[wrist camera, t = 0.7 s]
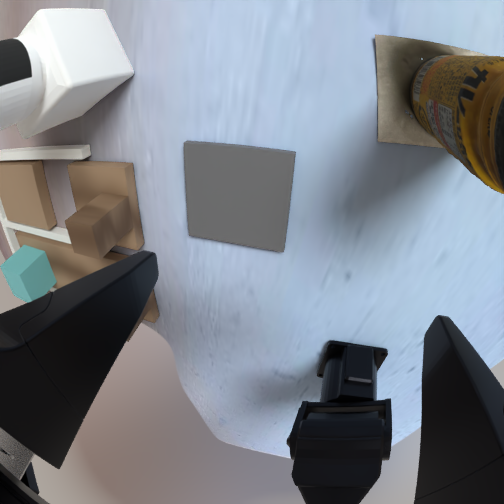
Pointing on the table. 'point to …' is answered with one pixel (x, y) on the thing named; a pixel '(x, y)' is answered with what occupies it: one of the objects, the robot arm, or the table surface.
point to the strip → (79, 267)
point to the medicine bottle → (59, 68)
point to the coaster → (238, 193)
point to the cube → (28, 273)
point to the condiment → (443, 102)
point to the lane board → (31, 191)
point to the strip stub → (103, 208)
